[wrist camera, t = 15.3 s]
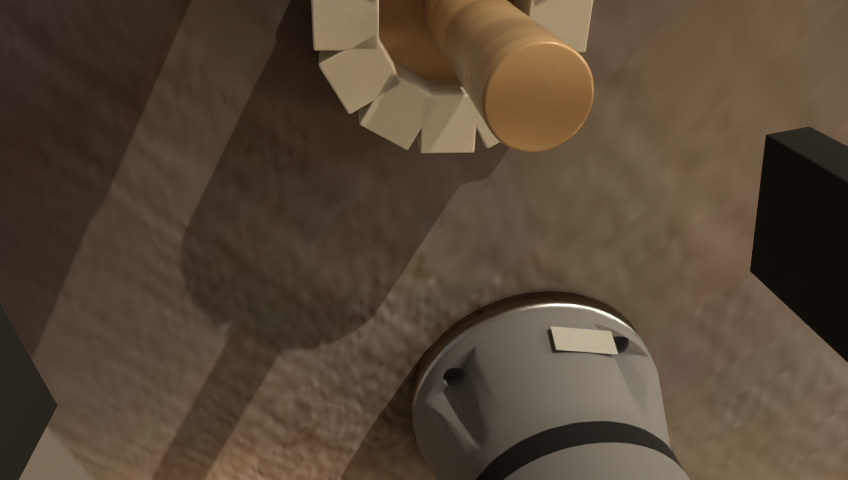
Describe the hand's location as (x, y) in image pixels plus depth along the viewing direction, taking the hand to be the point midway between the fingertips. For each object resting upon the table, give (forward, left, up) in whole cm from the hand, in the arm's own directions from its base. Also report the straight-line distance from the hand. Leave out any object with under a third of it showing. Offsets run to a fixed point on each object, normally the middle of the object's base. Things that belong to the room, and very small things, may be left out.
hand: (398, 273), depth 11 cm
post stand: (0, -4, -21) cm, 22 cm away
